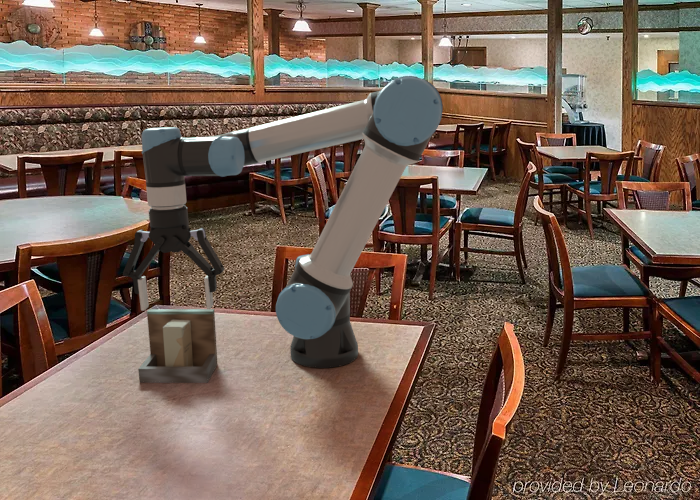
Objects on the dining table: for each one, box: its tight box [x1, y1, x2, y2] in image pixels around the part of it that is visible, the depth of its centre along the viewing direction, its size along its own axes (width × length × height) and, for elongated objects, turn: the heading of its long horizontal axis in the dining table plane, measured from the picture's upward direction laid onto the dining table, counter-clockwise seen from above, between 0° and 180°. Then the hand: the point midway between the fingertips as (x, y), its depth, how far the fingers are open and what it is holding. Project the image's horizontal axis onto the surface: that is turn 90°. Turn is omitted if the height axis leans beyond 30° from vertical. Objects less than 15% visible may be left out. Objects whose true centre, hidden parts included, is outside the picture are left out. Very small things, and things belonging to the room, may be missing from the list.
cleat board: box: [137, 308, 218, 384], centre depth 142 cm, size 14×10×13 cm
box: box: [163, 320, 193, 367], centre depth 143 cm, size 5×4×11 cm
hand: (177, 307), depth 141 cm, fingers open, 13 cm apart
